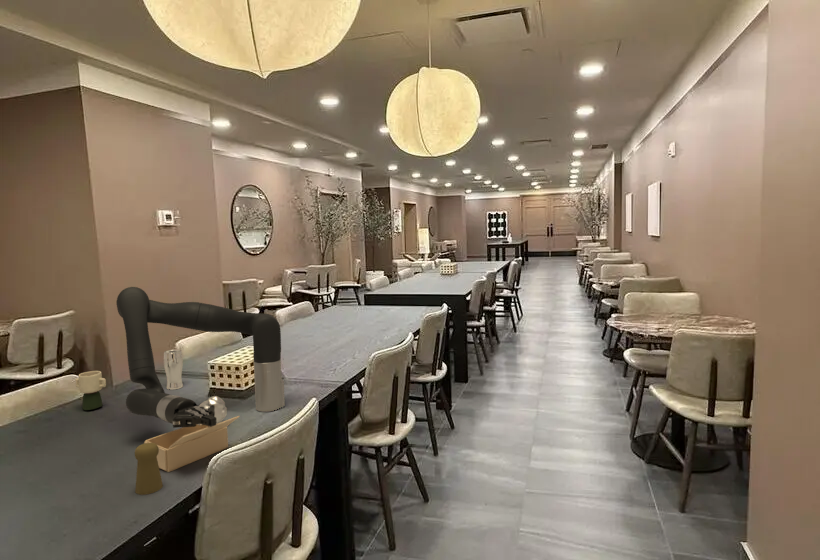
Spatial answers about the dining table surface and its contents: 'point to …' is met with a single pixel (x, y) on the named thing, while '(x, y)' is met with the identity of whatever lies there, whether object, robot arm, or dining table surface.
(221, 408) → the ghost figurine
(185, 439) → the flap
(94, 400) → the trophy cup
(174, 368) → the beer glass
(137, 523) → the dining table surface
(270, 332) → the robot arm
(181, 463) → the carton
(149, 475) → the cork
